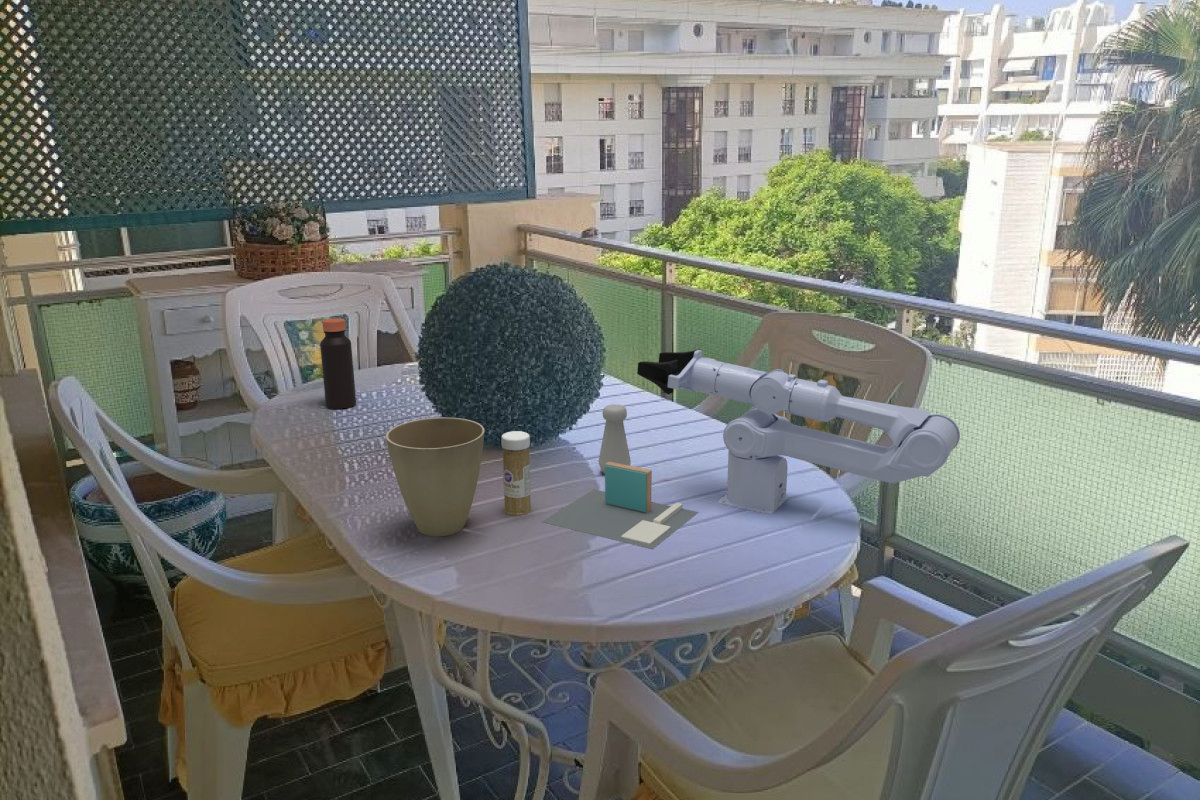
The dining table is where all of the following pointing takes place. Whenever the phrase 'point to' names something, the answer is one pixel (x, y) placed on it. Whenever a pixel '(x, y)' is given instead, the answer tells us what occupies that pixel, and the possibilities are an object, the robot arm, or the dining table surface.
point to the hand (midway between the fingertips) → (649, 363)
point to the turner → (652, 527)
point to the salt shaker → (614, 437)
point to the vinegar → (337, 365)
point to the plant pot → (437, 470)
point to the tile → (628, 487)
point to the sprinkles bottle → (516, 473)
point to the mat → (613, 518)
